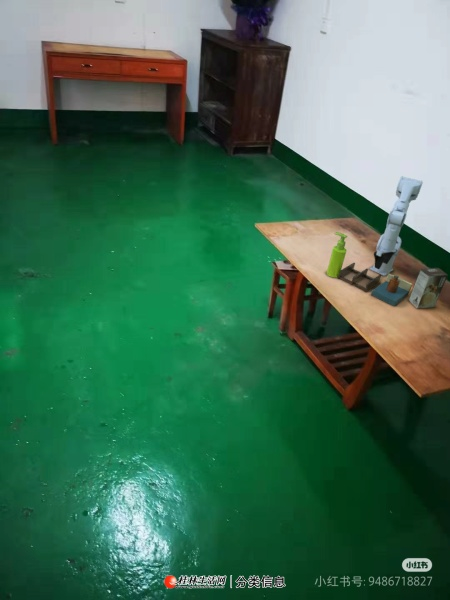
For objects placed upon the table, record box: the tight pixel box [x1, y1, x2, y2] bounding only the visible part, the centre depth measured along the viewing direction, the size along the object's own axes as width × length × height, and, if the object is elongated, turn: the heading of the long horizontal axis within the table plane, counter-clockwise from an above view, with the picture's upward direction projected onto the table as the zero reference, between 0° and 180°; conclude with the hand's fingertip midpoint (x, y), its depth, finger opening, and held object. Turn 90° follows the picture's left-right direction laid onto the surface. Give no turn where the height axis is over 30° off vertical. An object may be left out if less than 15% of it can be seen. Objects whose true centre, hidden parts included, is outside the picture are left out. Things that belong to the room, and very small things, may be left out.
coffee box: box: [408, 267, 449, 309], centre depth 192 cm, size 9×6×16 cm
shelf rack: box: [337, 262, 383, 293], centre depth 207 cm, size 13×14×4 cm
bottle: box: [387, 274, 400, 293], centre depth 197 cm, size 4×4×7 cm
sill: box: [370, 273, 413, 307], centre depth 198 cm, size 14×11×6 cm
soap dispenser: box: [326, 231, 348, 279], centre depth 205 cm, size 6×7×20 cm
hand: (380, 265), depth 202 cm, fingers open, 7 cm apart
